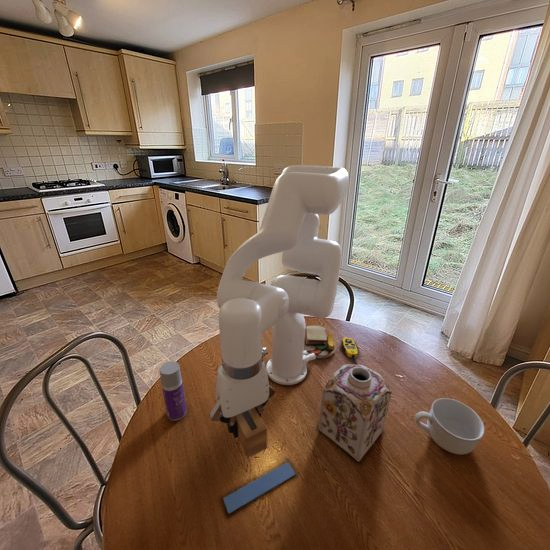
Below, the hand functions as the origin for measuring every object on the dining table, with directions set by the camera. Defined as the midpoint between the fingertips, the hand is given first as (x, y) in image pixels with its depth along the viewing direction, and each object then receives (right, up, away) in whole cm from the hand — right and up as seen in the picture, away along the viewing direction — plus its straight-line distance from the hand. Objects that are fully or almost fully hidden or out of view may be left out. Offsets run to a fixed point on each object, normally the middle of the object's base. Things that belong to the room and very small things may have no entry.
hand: (244, 426), depth 63 cm
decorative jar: (+25, -6, +9) cm, 27 cm away
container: (-19, -3, +12) cm, 23 cm away
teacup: (+46, -7, +8) cm, 48 cm away
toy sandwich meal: (+21, +8, +38) cm, 44 cm away
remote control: (+32, +6, +35) cm, 47 cm away
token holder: (0, -1, 0) cm, 1 cm away
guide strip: (+4, -10, -3) cm, 12 cm away
